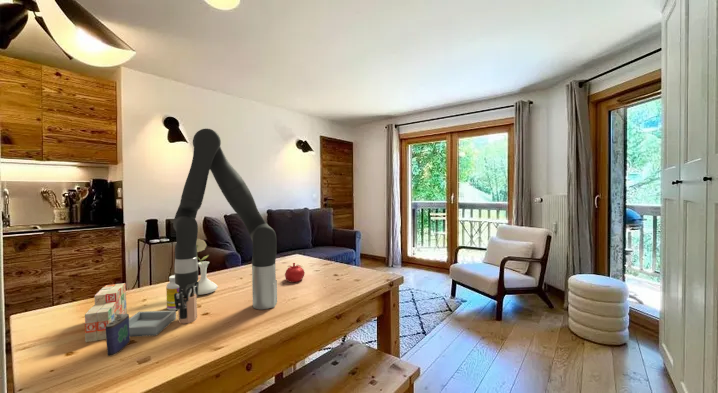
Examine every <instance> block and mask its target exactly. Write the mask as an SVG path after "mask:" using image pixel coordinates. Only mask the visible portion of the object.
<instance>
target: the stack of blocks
mask: <svg viewBox="0 0 718 393" xmlns="http://www.w3.org/2000/svg"><path fill="white" fill-rule="evenodd" d="M126 285H127V284H126V282H124V283H115V284H114V283H113V284H107V285H104V286H103V287H102V288H101V289H99V291H97V292H96V294H94V305H93V306H92V307H90V308H89V309H88V311H87V312H86V313H85V314H84V338H85V343H91V342H96V341H101V340H106V325H107V324H109V322H113V321H114V320H115V318H116V317H117V315H116V314H123V315H124V314H128V313H127V312H128V308H127V307H128V306H127V288H126V287H127V286H126Z"/></svg>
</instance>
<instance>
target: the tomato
mask: <svg viewBox="0 0 718 393" xmlns="http://www.w3.org/2000/svg"><path fill="white" fill-rule="evenodd" d="M305 274H306V273H305V270H304V268H303V267H302V266H301V265H300V264H296V263H295V262H293V263H292V265H287V269H286V270H285V273H284V276H285V278H284V279H285V280H286V281H287V282H289V283H297V282H300V281H301V280H303V279H304V277H305Z"/></svg>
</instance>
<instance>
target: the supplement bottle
mask: <svg viewBox="0 0 718 393" xmlns="http://www.w3.org/2000/svg"><path fill="white" fill-rule="evenodd" d="M168 281H169V282H168V283H167V284H166V308H167V311H178V309H176V306H175V299H174V294H175V293H178V292H179V287H180V286H179V285H177V284H175V274H172V275H170V276H169V277H168Z"/></svg>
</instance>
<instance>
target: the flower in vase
mask: <svg viewBox="0 0 718 393" xmlns="http://www.w3.org/2000/svg"><path fill="white" fill-rule="evenodd" d="M196 246H197V253H199V252H202V251H205V250H206V248H207V246H208V245H207V243H206V241H205V240H204V239H201V238H197V242H196ZM209 256H210V254H207V255H206V256H203V257H202V258H201V259H200V257H198V255H197V260H199V261H198V268H200V269H199V271H200V279H198V281H197V282H199V286H198V296H199V295H206V294H211V293H213V292H215V291H216V290H218V284H216V283H215V282H213V280H210V279H209V278H208V277H207V268H208V266H209V264H210V261H206V259H207V258H208V257H209ZM204 260H205V261H204Z"/></svg>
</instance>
